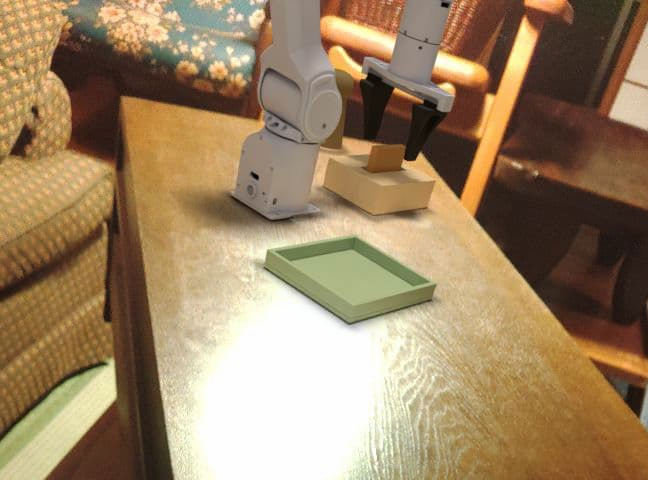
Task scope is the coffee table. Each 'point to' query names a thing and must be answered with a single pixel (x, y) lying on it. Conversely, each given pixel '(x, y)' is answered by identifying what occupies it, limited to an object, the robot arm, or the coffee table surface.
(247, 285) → the coffee table surface
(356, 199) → the toaster
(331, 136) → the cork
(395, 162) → the toast
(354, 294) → the tray
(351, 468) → the coffee table surface
